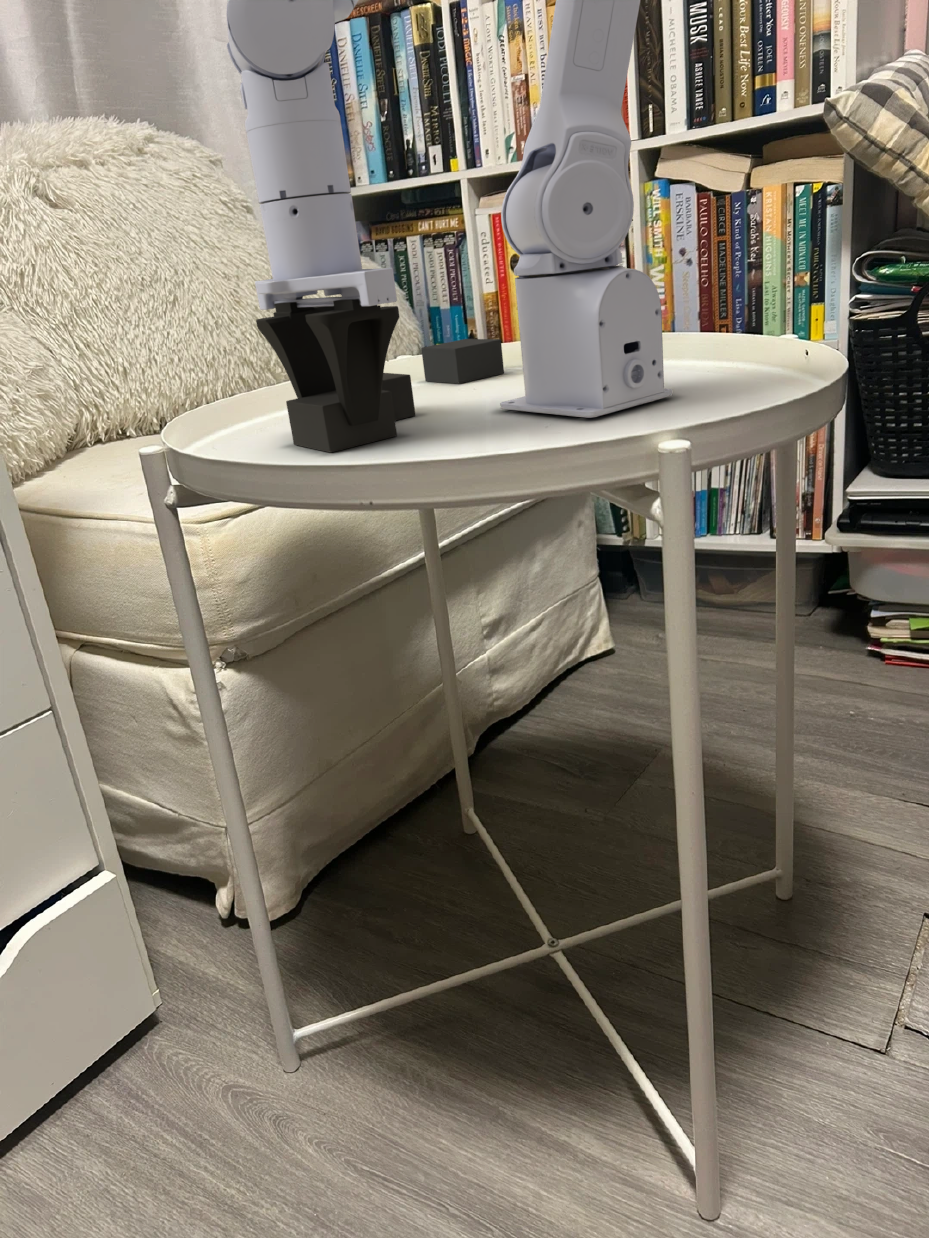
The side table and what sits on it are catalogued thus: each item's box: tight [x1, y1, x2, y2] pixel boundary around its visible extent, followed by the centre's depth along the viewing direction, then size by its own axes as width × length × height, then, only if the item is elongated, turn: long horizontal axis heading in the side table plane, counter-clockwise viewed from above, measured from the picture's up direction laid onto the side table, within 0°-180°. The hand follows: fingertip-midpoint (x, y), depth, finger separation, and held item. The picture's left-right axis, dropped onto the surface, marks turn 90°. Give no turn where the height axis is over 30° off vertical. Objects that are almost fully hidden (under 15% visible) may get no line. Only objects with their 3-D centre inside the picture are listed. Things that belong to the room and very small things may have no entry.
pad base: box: [420, 338, 505, 385], centre depth 85 cm, size 5×5×3 cm
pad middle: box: [286, 390, 398, 454], centre depth 63 cm, size 5×5×3 cm
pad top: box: [382, 372, 417, 421], centre depth 70 cm, size 5×5×3 cm
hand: (341, 419), depth 63 cm, fingers closed on pad middle, 5 cm apart
